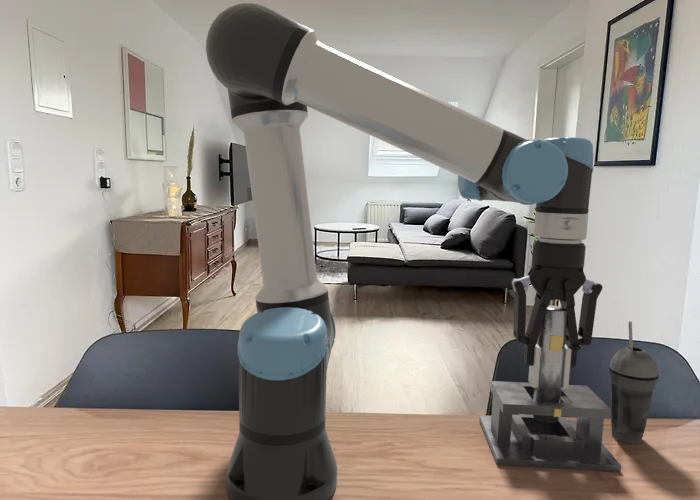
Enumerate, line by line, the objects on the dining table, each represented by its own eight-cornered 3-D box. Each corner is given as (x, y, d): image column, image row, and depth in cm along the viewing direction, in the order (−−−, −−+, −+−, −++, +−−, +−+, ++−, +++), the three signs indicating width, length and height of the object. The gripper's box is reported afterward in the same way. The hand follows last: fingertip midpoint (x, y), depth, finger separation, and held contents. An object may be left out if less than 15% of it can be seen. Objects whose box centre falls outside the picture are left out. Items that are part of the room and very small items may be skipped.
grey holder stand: (496, 464, 74) (500, 410, 73) (479, 420, 88) (482, 375, 87) (620, 472, 73) (626, 417, 71) (583, 426, 86) (587, 380, 85)
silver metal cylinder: (529, 410, 82) (537, 304, 79) (553, 411, 81) (562, 306, 79) (536, 422, 77) (545, 311, 75) (562, 424, 77) (572, 312, 75)
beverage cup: (659, 451, 79) (672, 330, 76) (610, 445, 80) (621, 326, 78) (641, 429, 86) (653, 318, 83) (597, 424, 87) (607, 315, 85)
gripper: (509, 241, 73) (499, 391, 76) (628, 245, 71) (613, 397, 74) (497, 236, 80) (489, 373, 83) (605, 239, 79) (592, 378, 82)
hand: (547, 384), depth 79 cm, fingers closed on silver metal cylinder, 4 cm apart
